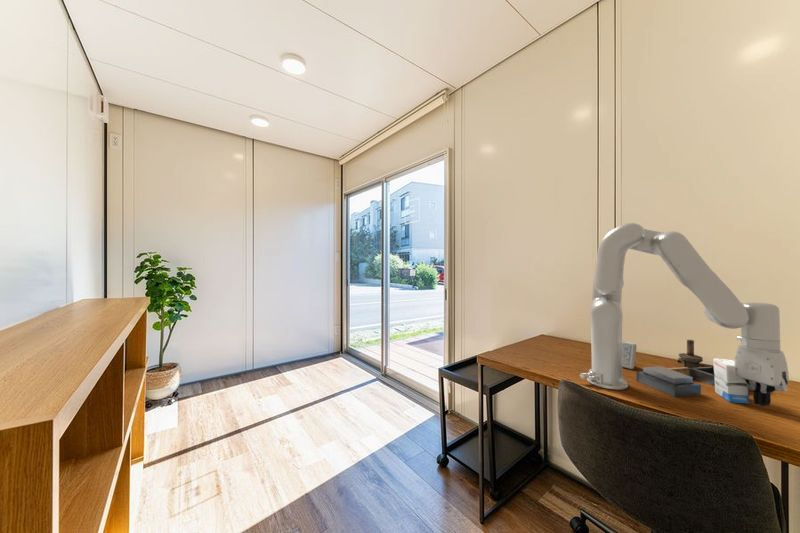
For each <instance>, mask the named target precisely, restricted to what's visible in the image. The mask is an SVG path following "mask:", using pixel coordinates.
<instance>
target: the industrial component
mask: <svg viewBox="0 0 800 533" xmlns="http://www.w3.org/2000/svg"><path fill="white" fill-rule="evenodd" d="M703 359H704V358H703V356H700V355H697V354H695V341H694V340H693V339H686V353H678V358H677V360H679V362H681V367H688V368H697V367H700V363H702V362H703V361H704V360H703Z"/></svg>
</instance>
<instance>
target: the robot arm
mask: <svg viewBox="0 0 800 533" xmlns="http://www.w3.org/2000/svg"><path fill="white" fill-rule="evenodd" d="M628 250H632V251H638V252H642V253H645V254H651V255H656V256H659V257H661V259H662V260H663V261H664V263H665V264H666V266H667V268H669V270H670V271H671V272H672V273H673V275H674V276H675V278H676V279H677V281H678V282H679V283H681V285H683V286H684V287H685V288H686V289H687V290H689V291H691V293H693V295H694V296H695V297H696V298H697V299H698V300H699V301H700V303H701V304H703V306H704V308H703V314H704V316H705V317H706V319H708V320H709V321H710V322H712V323H714V324H717V326H721V327H722V328H725V329H730V330H731V329H739V328H740V330H741V331H740V332H741V333H740V334H741V335H739V336H737V337H736V339H737V340H738V341H740V343H741V344H738V345H737V348H736V350H735V351H736V352H735V356H734V361H735V365H734V366H735V374H736V375H737V376H739V377H741V378H744V379H746V382H747V383H748V384H749V385H750V388H751V389H752V390H753V391H752V398H753V403H754V404H755V405H759V406H760V407H764V406H765V407H766V406H770V405H771V402H772V400H771V399H772V398H771V394H772V393H774V392H776V391H778V392H788V390H789V389H788V385H789V378H790V377H789V374H790V373H789V368H788V362H787V359H786V356H785V352H784V351H782V349H781V325H780V319H781V318H780V315H781V314H780V308H779V306H777V305H776V304H773V303H769V302H768V303H766V302H744V303H743V302H741V301H740V300H739V298H738V297H737V296H736V295H735V293H733V291H732V290H731V289H730V288H729V286H728V285H727V284H726V283H725V282H724V281H723V280H722V279H721V278H720V277H719V276H718V275H717V273H716V272H715V271H713V269H712V268H710V266H709V265H708V264H707V263H706V261H705V260H704V259H703V257H702V256H701V255H700V254H699V252H698V251H697V250H696V248H695V246H693V245H692V243H691V242H690V241H689V240H688V239H687V237H686V236H685V235H683V234H682V233H680V232H678V231H665V232H662V231H657V230H652V229H646V228H644V227H643V226H642V225H640V224H638V223H635V222H629V223H627V222H626V223H624V224H621V225H618V226H616V227H615V228H613V229H612V230H610V231H608V233H606V235H605V236H603V238H602V239H601V241H600V243H599V246H598V248H597V253H596V262H595V273H594V276H593V280H592V281H593V283H592V294H591V307H590V338H591V339H590V342H591V344H590V346H591V349H590V350H591V353H590V354H591V368H590V369H588V372H581V373H580V374H579V377H580V379H586V380H587V382H588V383H589V384H592V385H594V386H596V387H599V388H602V389H607V390H617V391H618V390H620V391H621V390H626V389H627V388H629V382H627V380H625V379H624V378H623V368H622V341H623V310H622V307H621V300H622V292H623V290H622V289H623V288H624V269H625V268H624V267H625V261H626V254H627V252H628Z"/></svg>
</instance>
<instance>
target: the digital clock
mask: <svg viewBox="0 0 800 533" xmlns="http://www.w3.org/2000/svg"><path fill="white" fill-rule="evenodd" d="M636 352H637V344H636V343H635V342H629V341H626V340H622V369H623V368H624V369H630V370H633V369H635V362H636V354H637V353H636Z"/></svg>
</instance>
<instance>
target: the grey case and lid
mask: <svg viewBox="0 0 800 533" xmlns="http://www.w3.org/2000/svg"><path fill="white" fill-rule="evenodd" d="M642 368H643V369H642V371H641V370H640V371H636V382H639V383H640V382H641V384H643V385H645V384H646V385H645V386H647V385H648V387H650V388H652V387H653V388H652V389H654V388H655V390H657V391H659V392H661V391H662V393H663V394H667V395H668V396H671V397H673V398H681V397H682V398H683V397H693V396H701V395H702V384H699V383H697V382H694V380H693V379H695V380H698V381H701V382H702V383H705V384H708V385H711V386H714V387H715V378H714V366H699V367H697V368H688V367H682V366H681V367H669V368H668V367H664V366H661V365H656V366H643V367H642ZM747 386H748V392H751V391H752V392H753V390H752V389H751V388H750V385H749V384H748V383H747Z"/></svg>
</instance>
